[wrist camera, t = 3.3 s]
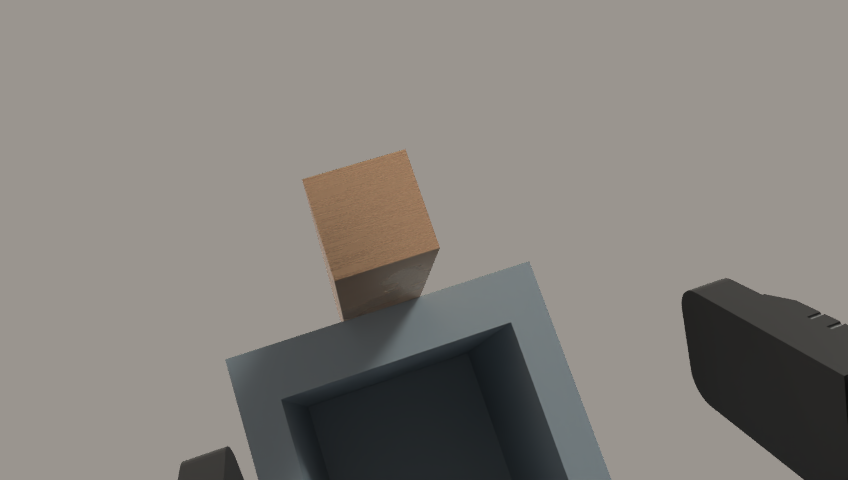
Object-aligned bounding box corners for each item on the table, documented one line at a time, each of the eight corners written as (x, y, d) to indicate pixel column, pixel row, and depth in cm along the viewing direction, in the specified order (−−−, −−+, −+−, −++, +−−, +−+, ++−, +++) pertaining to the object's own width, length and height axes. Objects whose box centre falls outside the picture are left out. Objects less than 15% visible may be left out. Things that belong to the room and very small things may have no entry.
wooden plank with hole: (440, 247, 20) (404, 147, 21) (334, 281, 19) (301, 177, 20) (401, 341, 43) (385, 293, 44) (352, 358, 43) (337, 308, 43)
